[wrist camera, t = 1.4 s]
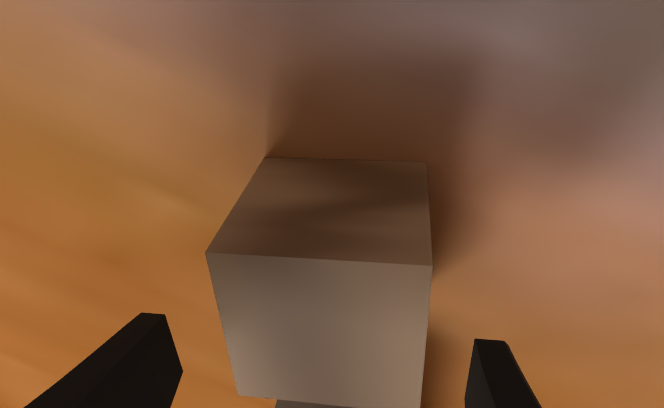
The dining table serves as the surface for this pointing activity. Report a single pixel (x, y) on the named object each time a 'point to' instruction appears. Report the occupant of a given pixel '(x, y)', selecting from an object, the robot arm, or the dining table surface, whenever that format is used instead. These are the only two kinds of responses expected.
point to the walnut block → (327, 282)
